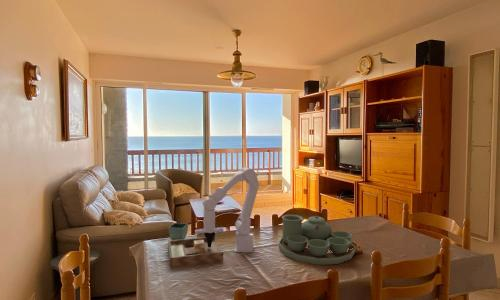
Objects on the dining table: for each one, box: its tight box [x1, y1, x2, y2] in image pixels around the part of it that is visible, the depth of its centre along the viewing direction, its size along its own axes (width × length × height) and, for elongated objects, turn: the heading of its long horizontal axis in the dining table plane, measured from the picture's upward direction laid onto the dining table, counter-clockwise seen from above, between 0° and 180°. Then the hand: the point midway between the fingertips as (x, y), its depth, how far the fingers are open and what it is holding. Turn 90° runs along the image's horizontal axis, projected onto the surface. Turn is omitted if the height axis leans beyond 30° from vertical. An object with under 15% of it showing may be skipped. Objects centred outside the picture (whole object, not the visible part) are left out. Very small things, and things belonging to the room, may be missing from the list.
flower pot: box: [168, 222, 189, 240], centre depth 179 cm, size 9×9×9 cm
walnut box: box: [167, 236, 224, 268], centre depth 159 cm, size 25×24×4 cm
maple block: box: [194, 240, 205, 252], centre depth 159 cm, size 5×5×4 cm
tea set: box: [278, 214, 356, 266], centre depth 167 cm, size 40×40×16 cm
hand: (209, 246), depth 161 cm, fingers closed
